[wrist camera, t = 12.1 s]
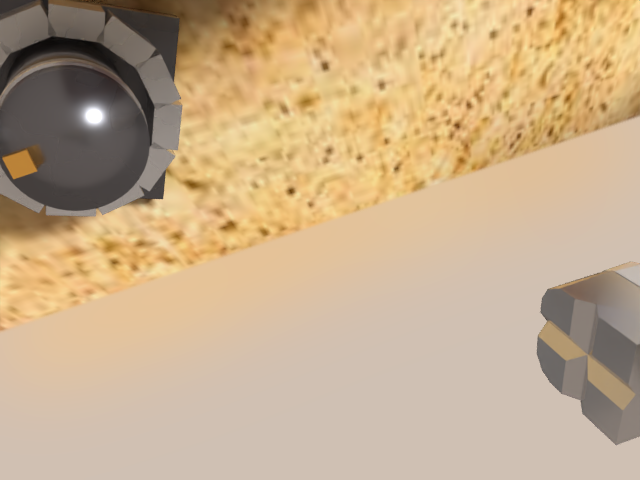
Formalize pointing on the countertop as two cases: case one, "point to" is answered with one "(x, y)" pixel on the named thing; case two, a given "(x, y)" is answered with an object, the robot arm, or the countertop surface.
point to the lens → (70, 127)
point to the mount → (128, 59)
